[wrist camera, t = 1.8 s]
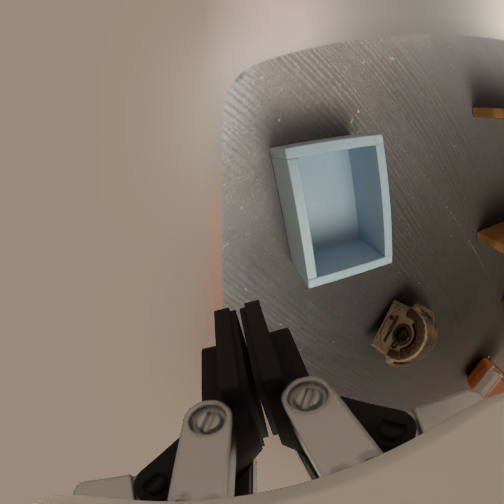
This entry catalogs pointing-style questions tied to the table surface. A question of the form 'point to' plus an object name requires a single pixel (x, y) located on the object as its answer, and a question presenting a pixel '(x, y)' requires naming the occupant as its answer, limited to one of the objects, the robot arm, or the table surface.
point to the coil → (486, 379)
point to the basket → (335, 205)
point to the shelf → (500, 234)
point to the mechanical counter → (406, 334)
